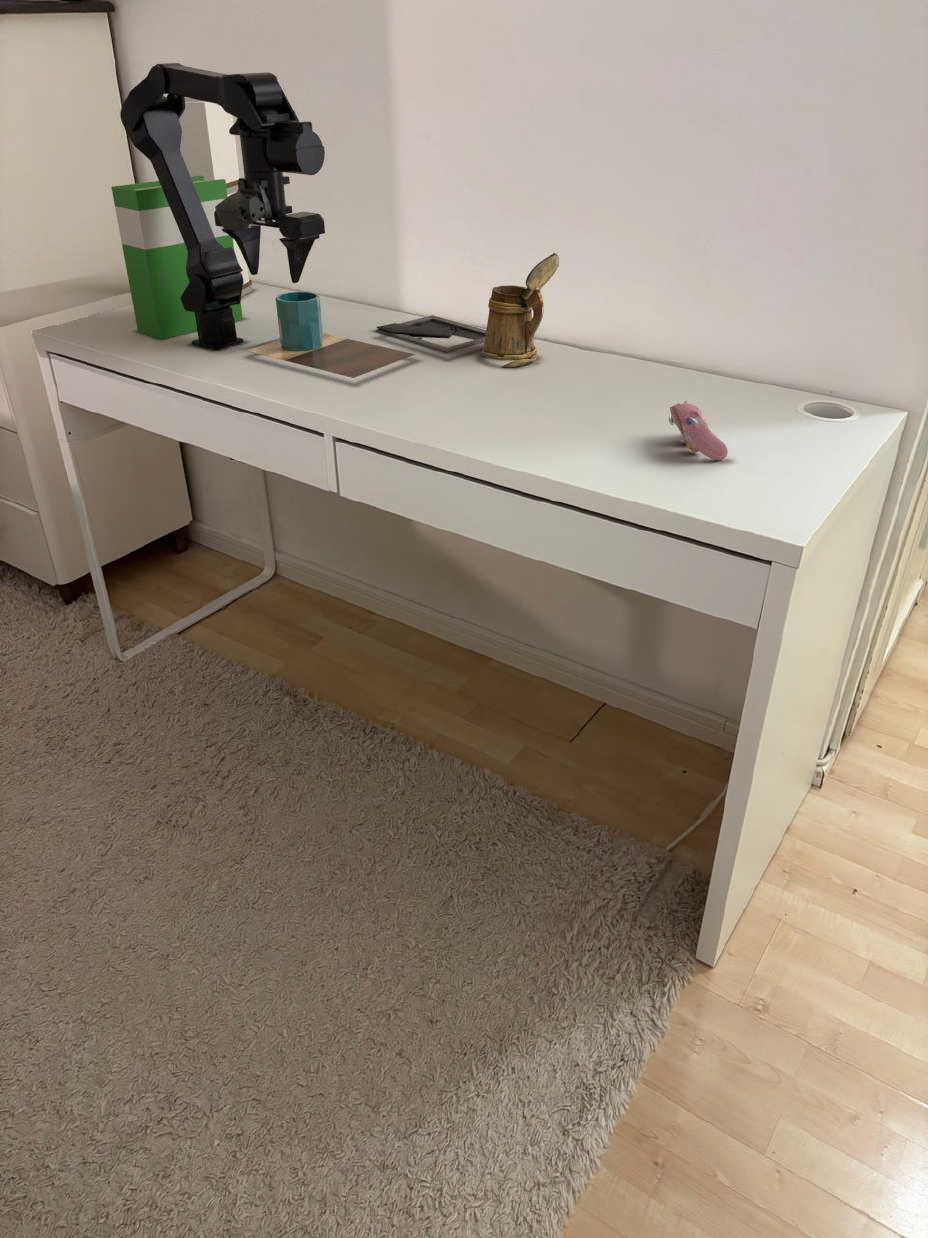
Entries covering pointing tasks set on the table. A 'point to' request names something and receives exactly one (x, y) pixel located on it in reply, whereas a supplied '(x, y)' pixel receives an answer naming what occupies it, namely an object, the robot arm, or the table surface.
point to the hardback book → (162, 254)
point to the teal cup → (299, 321)
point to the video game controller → (696, 431)
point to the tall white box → (212, 153)
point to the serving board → (337, 355)
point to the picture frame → (435, 332)
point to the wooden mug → (517, 316)
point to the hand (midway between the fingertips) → (274, 278)
